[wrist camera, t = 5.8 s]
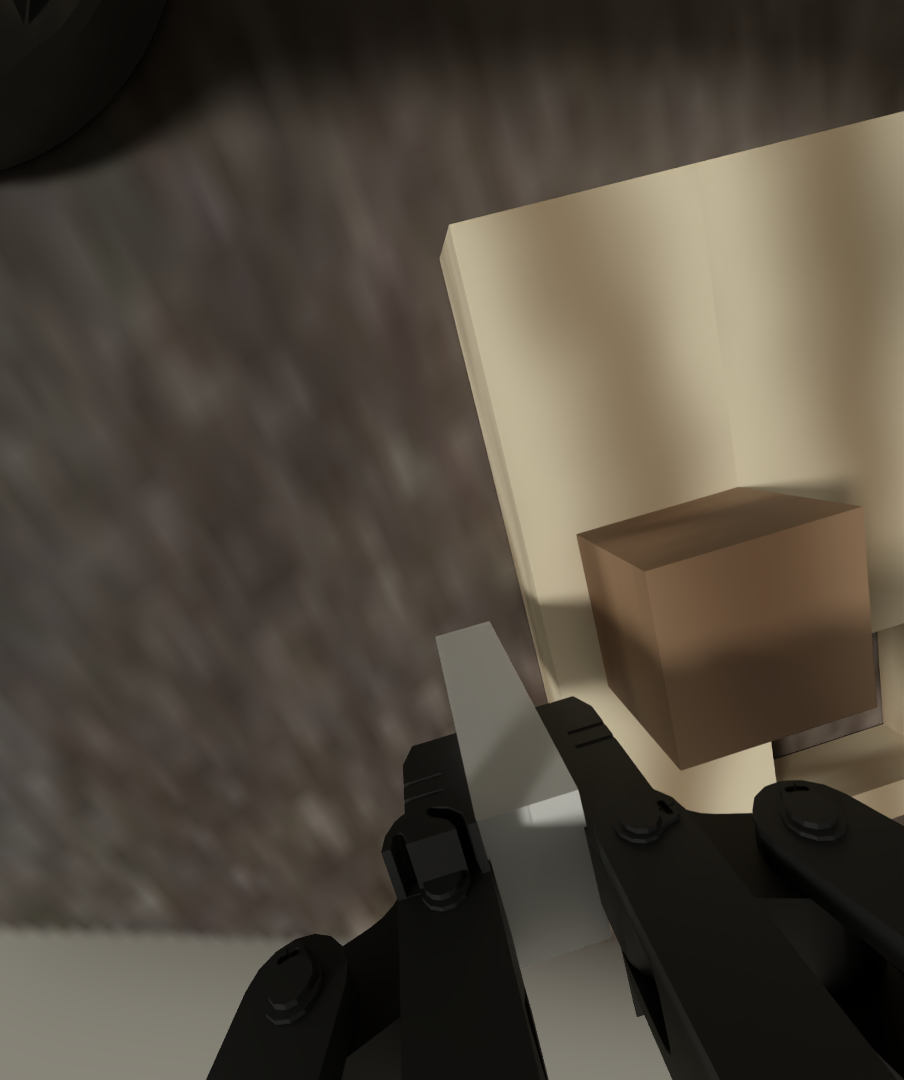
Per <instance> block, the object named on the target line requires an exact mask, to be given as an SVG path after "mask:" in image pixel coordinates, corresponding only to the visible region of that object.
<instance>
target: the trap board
mask: <svg viewBox="0 0 904 1080" xmlns="http://www.w3.org/2000/svg"><path fill="white" fill-rule="evenodd" d="M440 262H441V267H442V271H443V275H444V279H445V283H446V287H447V291H448V295H449V299H450V303H451V307H452V311H453V315H454V320H455V324H456V328H457V332H458V336H459V340H460V344H461V348H462V352H463V356H464V360H465V364H466V368H467V373H468V377H469V381H470V385H471V389H472V393H473V397H474V401H475V405H476V409H477V413H478V417H479V422H480V426H481V430H482V434H483V438H484V442H485V446H486V450H487V454H488V458H489V462H490V466H491V470H492V475H493V479H494V483H495V487H496V491H497V495H498V499H499V503H500V507H501V511H502V515H503V519H504V523H505V528H506V532H507V536H508V540H509V544H510V548H511V552H512V556H513V560H514V564H515V568H516V572H517V576H518V581H519V585H520V589H521V593H522V597H523V601H524V605H525V609H526V613H527V617H528V621H529V625H530V630H531V634H532V638H533V642H534V646H535V650H536V654H537V658H538V662H539V666H540V670H541V674H542V678H543V683H544V687H545V691H546V695H547V699H548V703H552V702H555V701H558V700H562V699H565V698H568V697H572V696H574V697H576V698H578V699H580V700H581V701H583V702H585V703H587V704H589V705H591V706H592V707H593V708H594V710H595V711H596V712H597V714H598V715H599V716H600V718H601V719H602V720H603V722H604V725H605V724H606V726H607V727H608V728H609V730H610V731H611V733H612V734H613V737H614V738H616V739H617V741H618V742H619V743H620V745H621V746H622V747H623V749H624V750H625V751H626V753H627V754H628V755H629V757H630V758H631V760H632V761H633V762H634V764H635V765H636V766H637V768H638V769H639V770H640V772H641V773H642V774H643V776H644V777H645V778H646V780H647V781H648V783H649V784H650V785H651V787H652V788H653V789H654V790H657V791H659V792H662V793H664V794H666V795H669V796H671V797H673V798H674V799H675V800H676V801H677V802H678V803H679V804H681V805H682V806H683V807H684V808H685V809H686V810H690V811H694V812H699V813H710V814H731V813H752V809H753V803H754V797H755V796H756V795H757V794H758V793H759V792H760V791H761V790H762V789H763V788H764V787H765V786H768V785H770V784H773V783H776V782H779V781H788V780H804V781H809V782H815V783H820V784H825V785H827V786H829V787H832V788H834V789H836V790H839V791H841V792H843V793H846V794H848V795H849V796H851V797H853V798H855V799H856V800H858V801H860V802H862V803H864V804H865V805H867V806H869V807H871V808H872V809H874V810H876V811H878V812H879V813H881V814H883V815H885V816H887V817H888V818H890V819H892V818H895V817H898V816H901V815H904V111H903V112H899V113H895V114H891V115H887V116H883V117H879V118H875V119H871V120H867V121H863V122H859V123H855V124H851V125H847V126H843V127H839V128H835V129H831V130H827V131H823V132H819V133H815V134H811V135H807V136H803V137H799V138H795V139H791V140H787V141H783V142H779V143H775V144H771V145H767V146H763V147H759V148H755V149H751V150H747V151H743V152H739V153H735V154H730V155H726V156H722V157H718V158H714V159H710V160H706V161H702V162H698V163H694V164H690V165H686V166H682V167H678V168H674V169H670V170H666V171H662V172H658V173H654V174H650V175H646V176H642V177H638V178H634V179H630V180H626V181H622V182H618V183H614V184H610V185H606V186H602V187H598V188H594V189H590V190H586V191H582V192H578V193H574V194H570V195H566V196H562V197H558V198H554V199H550V200H546V201H542V202H538V203H534V204H530V205H526V206H522V207H518V208H514V209H510V210H506V211H502V212H498V213H494V214H490V215H486V216H482V217H478V218H474V219H470V220H466V221H462V222H458V223H454V224H450V225H449V227H448V231H447V235H446V238H445V242H444V245H443V249H442V252H441V256H440ZM736 487H741V488H748V489H754V490H761V491H767V492H773V493H780V494H786V495H793V496H799V497H805V498H812V499H818V500H824V501H831V502H837V503H844V504H850V505H856V506H863V516H864V530H865V544H866V558H867V572H868V586H869V600H870V615H871V629H872V633H874V632H877V638H878V653H879V667H880V682H881V697H882V711H883V724H882V725H879V726H876V727H873V728H870V729H867V730H863V731H860V732H857V733H854V734H851V735H848V736H845V737H842V738H839V739H836V740H833V741H830V742H827V743H824V744H821V745H818V746H815V747H811V748H808V749H805V750H802V751H799V752H796V753H793V754H790V755H787V756H784V757H781V758H778V759H775V760H773V752H772V745H771V742H768V743H765V744H762V745H759V746H756V747H753V748H750V749H747V750H744V751H741V752H738V753H735V754H731V755H728V756H725V757H722V758H719V759H716V760H713V761H710V762H707V763H704V764H701V765H698V766H694V767H691V768H688V769H685V770H682V771H680V770H679V768H678V767H677V766H676V765H675V764H674V763H673V761H672V760H671V759H670V758H669V757H668V756H667V754H666V753H665V752H664V751H663V750H662V749H661V747H660V746H659V745H658V744H657V743H656V742H655V740H654V739H653V738H652V737H651V736H650V735H649V733H648V732H647V731H646V730H645V729H644V728H643V726H642V725H641V724H640V723H639V722H638V721H637V719H636V718H635V717H634V716H633V715H632V714H631V712H630V711H629V710H628V709H627V708H626V707H625V705H624V704H623V703H622V702H621V701H620V700H619V698H618V697H617V696H616V695H615V694H614V693H613V691H612V690H611V689H610V688H609V687H608V683H607V678H606V673H605V668H604V664H603V659H602V654H601V650H600V645H599V640H598V635H597V631H596V626H595V621H594V616H593V612H592V607H591V602H590V598H589V593H588V588H587V583H586V579H585V574H584V569H583V564H582V560H581V555H580V550H579V546H578V541H577V536H576V534H578V533H582V532H585V531H589V530H592V529H596V528H599V527H602V526H606V525H609V524H613V523H616V522H620V521H623V520H626V519H630V518H633V517H637V516H640V515H644V514H647V513H650V512H654V511H657V510H661V509H664V508H668V507H671V506H675V505H678V504H681V503H685V502H688V501H692V500H695V499H699V498H702V497H705V496H709V495H712V494H716V493H719V492H723V491H726V490H729V489H733V488H736Z"/></svg>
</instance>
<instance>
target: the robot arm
mask: <svg viewBox="0 0 904 1080" xmlns="http://www.w3.org/2000/svg"><path fill="white" fill-rule="evenodd" d="M165 3H166V0H0V171H1V170H5V169H7V168H10V167H13V166H15V165H18V164H21V163H23V162H26V161H28V160H30V159H32V158H34V157H36V156H38V155H40V154H43V153H45V152H46V151H48V150H50V149H51V148H53V147H55V146H57V145H58V144H60V143H62V142H63V141H65V140H66V139H68V138H69V137H70V136H72V135H73V134H74V133H76V132H77V131H78V130H80V129H81V128H82V127H84V126H85V125H86V124H87V123H88V122H89V121H90V120H92V119H93V118H94V117H95V116H96V115H97V114H98V113H99V112H100V111H101V110H102V109H103V108H104V107H105V106H106V105H107V104H108V103H109V102H110V101H111V100H112V98H113V97H114V96H115V95H116V94H117V92H118V91H119V90H120V88H121V87H122V86H123V85H124V83H125V82H126V81H127V80H128V78H129V76H130V75H131V73H132V72H133V70H134V69H135V67H136V66H137V64H138V63H139V61H140V59H141V57H142V56H143V54H144V52H145V50H146V48H147V46H148V44H149V43H150V41H151V39H152V36H153V34H154V32H155V29H156V27H157V25H158V22H159V20H160V18H161V15H162V12H163V9H164V6H165ZM435 638H436V642H437V647H438V651H439V656H440V660H441V665H442V669H443V674H444V678H445V683H446V687H447V692H448V697H449V701H450V706H451V710H452V715H453V719H454V724H455V728H456V733H455V734H452V735H448V736H445V737H442V738H438V739H435V740H432V741H428V742H425V743H422V744H418V745H415V746H412V748H411V750H410V752H409V754H408V756H407V758H406V760H405V762H404V764H403V777H404V801H405V814H404V815H402V816H401V817H400V818H399V819H398V820H396V821H395V822H394V824H393V825H392V827H391V828H390V830H389V831H388V833H387V834H386V836H385V839H384V843H383V847H382V851H381V853H382V856H383V859H384V862H385V864H386V867H387V870H388V873H389V876H390V879H391V882H392V885H393V887H394V890H395V893H396V896H397V900H396V902H395V904H394V905H393V907H392V908H391V909H390V910H389V911H388V912H387V913H386V915H385V916H384V917H383V918H382V919H381V920H379V921H378V922H377V923H376V924H374V925H373V926H372V927H371V928H369V929H368V930H366V931H365V932H363V933H362V934H360V935H359V936H357V937H356V938H354V939H353V940H351V941H350V942H349V943H347V944H346V945H344V946H342V945H341V944H339V943H338V942H337V941H336V940H335V939H334V938H332V937H331V936H327V935H320V934H312V935H309V936H305V937H302V938H298V939H295V940H294V941H292V942H291V943H289V944H287V945H286V946H284V947H283V948H281V949H280V950H278V951H277V952H276V953H275V954H274V955H273V956H272V957H271V958H270V959H269V960H268V961H267V962H266V963H265V964H264V965H263V966H262V967H261V968H260V969H259V971H258V972H257V974H256V976H255V977H254V979H253V981H252V982H251V984H250V986H249V987H248V989H247V991H246V992H245V995H244V997H243V999H242V1001H241V1003H240V1005H239V1008H238V1010H237V1012H236V1014H235V1017H234V1019H233V1021H232V1023H231V1026H230V1028H229V1030H228V1032H227V1034H226V1037H225V1039H224V1041H223V1043H222V1046H221V1048H220V1050H219V1052H218V1054H217V1057H216V1059H215V1061H214V1064H213V1066H212V1068H211V1070H210V1072H209V1074H208V1077H207V1079H206V1080H548V1076H547V1071H546V1067H545V1064H544V1059H543V1055H542V1052H541V1048H540V1043H539V1039H538V1035H537V1031H536V1027H535V1023H534V1019H533V1015H532V1011H531V1007H530V1004H529V1000H528V997H527V994H526V990H525V987H524V983H523V979H522V974H521V971H520V968H522V967H526V966H528V965H532V964H535V963H538V962H540V961H544V960H547V959H550V958H553V957H556V956H559V955H562V954H565V953H568V952H571V951H574V950H577V949H580V948H583V947H586V946H589V945H592V944H595V943H598V942H601V941H604V940H607V939H610V938H612V935H611V931H610V926H609V922H610V924H611V926H612V929H613V931H614V933H615V935H616V938H617V940H618V942H619V944H620V946H621V949H622V954H623V958H624V963H625V967H626V971H627V976H628V981H629V985H630V989H631V994H632V998H633V1003H634V1007H635V1011H636V1015H637V1017H639V1016H642V1015H645V1018H646V1020H647V1022H648V1025H649V1027H650V1029H651V1032H652V1034H653V1036H654V1038H655V1041H656V1043H657V1045H658V1047H659V1050H660V1052H661V1055H662V1057H663V1059H664V1061H665V1064H666V1066H667V1068H668V1071H669V1073H670V1075H671V1077H672V1080H904V826H902V825H901V824H899V823H897V822H895V821H894V820H892V819H890V818H888V817H887V816H885V815H883V814H881V813H879V812H878V811H876V810H874V809H872V808H871V807H869V806H867V805H865V804H864V803H862V802H860V801H858V800H856V799H855V798H853V797H851V796H849V795H848V794H846V793H843V792H841V791H839V790H836V789H834V788H832V787H829V786H827V785H825V784H820V783H815V782H809V781H804V780H788V781H779V782H776V783H773V784H770V785H768V786H765V787H764V788H763V789H762V790H761V791H760V792H759V793H758V794H757V795H756V796H755V797H754V803H753V809H752V813H731V814H710V813H699V812H694V811H690V810H686V809H685V808H684V807H683V806H682V805H681V804H679V803H678V802H677V801H676V800H675V799H674V798H673V797H671V796H669V795H666V794H664V793H662V792H659V791H657V790H654V789H653V788H652V787H651V785H650V784H649V783H648V781H647V780H646V778H645V777H644V776H643V774H642V773H641V772H640V770H639V769H638V768H637V766H636V765H635V764H634V762H633V761H632V760H631V758H630V757H629V755H628V754H627V753H626V751H625V750H624V749H623V747H622V746H621V745H620V743H619V742H618V741H617V739H616V738H614V737H613V734H612V733H611V731H610V730H609V728H608V727H607V726H606V724H605V725H604V722H603V720H602V719H601V718H600V716H599V715H598V714H597V712H596V711H595V710H594V708H593V707H592V706H591V705H589V704H587V703H585V702H583V701H581V700H580V699H578V698H576V697H574V696H572V697H568V698H565V699H562V700H558V701H555V702H552V703H548V704H545V705H542V706H538V707H534V705H533V703H532V701H531V699H530V697H529V695H528V693H527V692H526V690H525V688H524V686H523V684H522V682H521V680H520V678H519V676H518V674H517V673H516V671H515V669H514V667H513V665H512V663H511V661H510V659H509V657H508V655H507V654H506V652H505V650H504V648H503V646H502V644H501V642H500V640H499V638H498V637H497V635H496V633H495V631H494V629H493V627H492V625H491V623H490V621H488V622H485V623H481V624H478V625H474V626H471V627H467V628H464V629H460V630H457V631H454V632H450V633H447V634H443V635H440V636H436V637H435ZM608 920H609V922H608Z"/></svg>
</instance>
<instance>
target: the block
mask: <svg viewBox="0 0 904 1080" xmlns="http://www.w3.org/2000/svg"><path fill="white" fill-rule="evenodd" d="M576 536H577V541H578V546H579V550H580V555H581V560H582V564H583V569H584V574H585V579H586V583H587V588H588V593H589V598H590V602H591V607H592V612H593V616H594V621H595V626H596V631H597V635H598V640H599V645H600V650H601V654H602V659H603V664H604V668H605V673H606V678H607V683H608V687H609V688H610V689H611V690H612V691H613V693H614V694H615V695H616V696H617V697H618V698H619V700H620V701H621V702H622V703H623V704H624V705H625V707H626V708H627V709H628V710H629V711H630V712H631V714H632V715H633V716H634V717H635V718H636V719H637V721H638V722H639V723H640V724H641V725H642V726H643V728H644V729H645V730H646V731H647V732H648V733H649V735H650V736H651V737H652V738H653V739H654V740H655V742H656V743H657V744H658V745H659V746H660V747H661V749H662V750H663V751H664V752H665V753H666V754H667V756H668V757H669V758H670V759H671V760H672V761H673V763H674V764H675V765H676V766H677V767H678V768H679V770H680V771H682V770H685V769H688V768H691V767H694V766H698V765H701V764H704V763H707V762H710V761H713V760H716V759H719V758H722V757H725V756H728V755H731V754H735V753H738V752H741V751H744V750H747V749H750V748H753V747H756V746H759V745H762V744H765V743H768V742H772V741H775V740H778V739H781V738H784V737H787V736H790V735H793V734H796V733H799V732H802V731H805V730H809V729H812V728H815V727H818V726H821V725H824V724H827V723H830V722H833V721H836V720H839V719H842V718H846V717H849V716H852V715H855V714H858V713H861V712H864V711H867V710H870V709H873V708H876V707H877V699H876V685H875V671H874V657H873V643H872V629H871V615H870V600H869V586H868V572H867V558H866V544H865V530H864V516H863V506H856V505H850V504H844V503H837V502H831V501H824V500H818V499H812V498H805V497H799V496H793V495H786V494H780V493H773V492H767V491H761V490H754V489H748V488H741V487H736V488H733V489H729V490H726V491H723V492H719V493H716V494H712V495H709V496H705V497H702V498H699V499H695V500H692V501H688V502H685V503H681V504H678V505H675V506H671V507H668V508H664V509H661V510H657V511H654V512H650V513H647V514H644V515H640V516H637V517H633V518H630V519H626V520H623V521H620V522H616V523H613V524H609V525H606V526H602V527H599V528H596V529H592V530H589V531H585V532H582V533H578V534H576Z"/></svg>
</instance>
